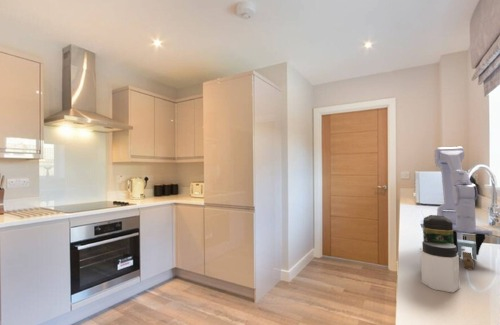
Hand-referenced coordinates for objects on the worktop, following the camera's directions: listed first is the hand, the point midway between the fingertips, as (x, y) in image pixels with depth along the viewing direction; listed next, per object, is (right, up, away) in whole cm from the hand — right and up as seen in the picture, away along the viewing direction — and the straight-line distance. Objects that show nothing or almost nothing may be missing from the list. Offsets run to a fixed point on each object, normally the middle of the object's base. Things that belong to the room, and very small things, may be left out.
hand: (466, 252), depth 97 cm
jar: (-27, -2, -22) cm, 35 cm away
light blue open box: (0, -1, 0) cm, 1 cm away
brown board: (-4, -2, -5) cm, 6 cm away
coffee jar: (-20, -2, -13) cm, 24 cm away
